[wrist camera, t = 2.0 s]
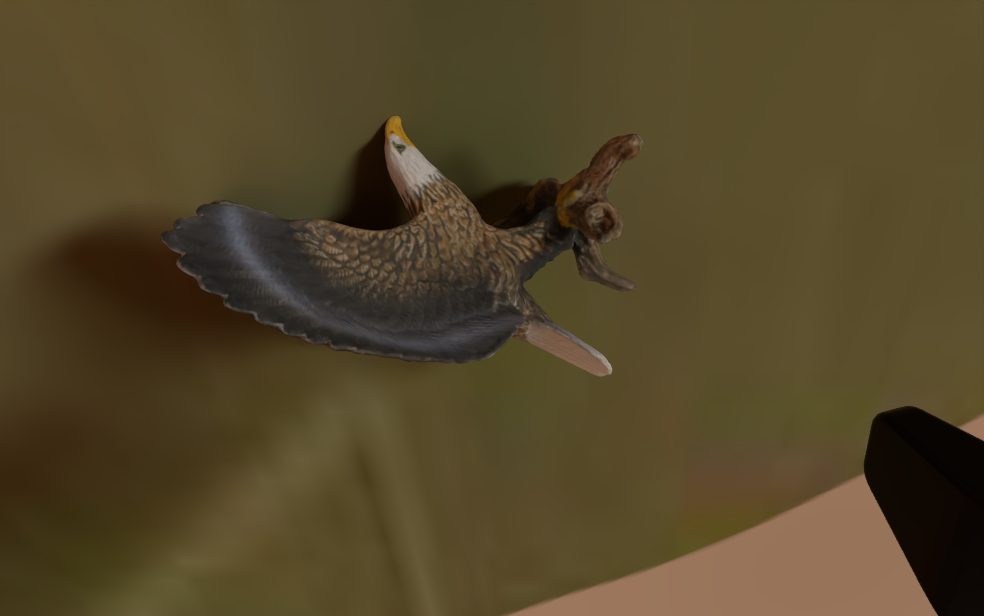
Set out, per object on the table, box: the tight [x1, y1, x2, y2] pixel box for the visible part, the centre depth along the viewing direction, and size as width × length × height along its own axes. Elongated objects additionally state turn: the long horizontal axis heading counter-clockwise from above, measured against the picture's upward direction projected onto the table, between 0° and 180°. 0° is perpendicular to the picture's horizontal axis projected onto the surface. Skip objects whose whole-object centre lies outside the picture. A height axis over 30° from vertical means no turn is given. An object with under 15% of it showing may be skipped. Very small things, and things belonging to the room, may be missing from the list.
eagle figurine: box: [160, 116, 643, 376], centre depth 20 cm, size 8×7×9 cm
